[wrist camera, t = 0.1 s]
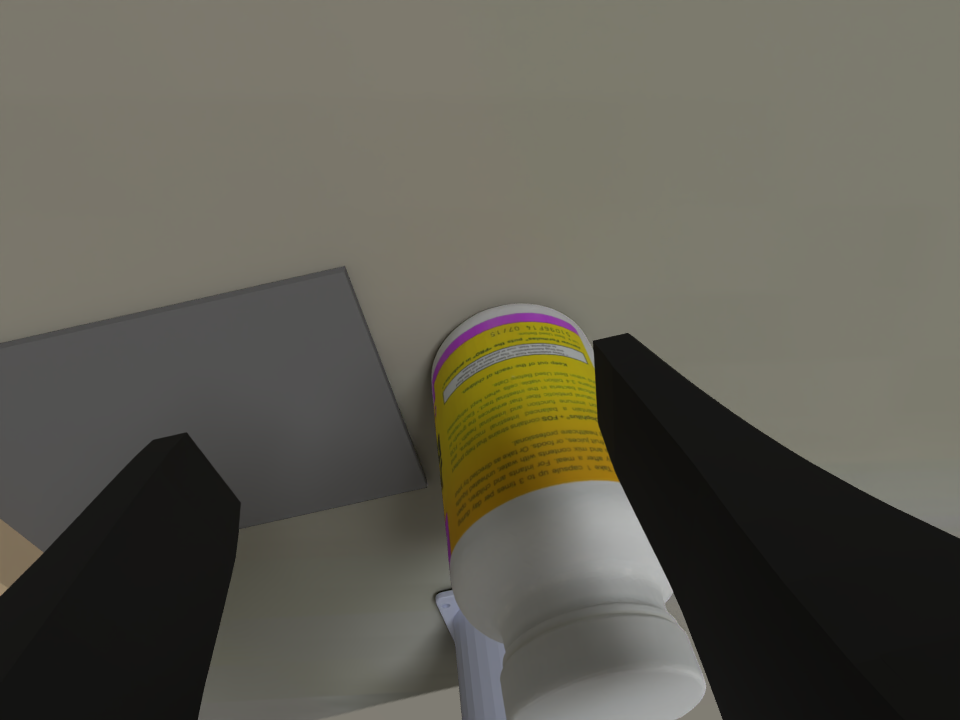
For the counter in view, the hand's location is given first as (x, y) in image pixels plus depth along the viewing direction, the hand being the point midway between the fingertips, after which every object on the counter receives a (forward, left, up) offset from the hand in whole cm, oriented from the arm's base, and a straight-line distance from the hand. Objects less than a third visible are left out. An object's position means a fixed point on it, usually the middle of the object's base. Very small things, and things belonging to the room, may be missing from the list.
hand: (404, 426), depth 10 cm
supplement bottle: (-8, -3, -10) cm, 13 cm away
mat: (-8, +11, -10) cm, 17 cm away
